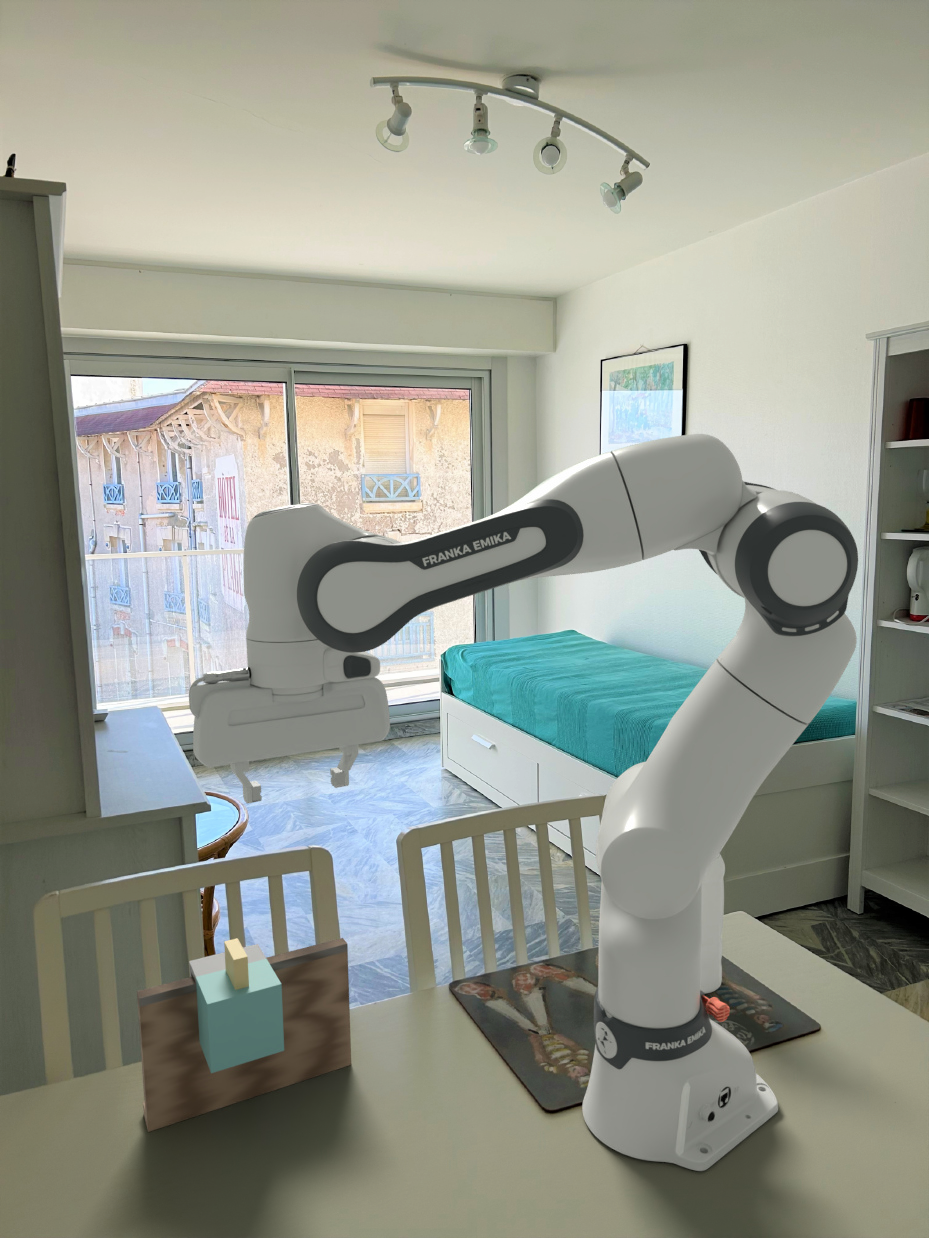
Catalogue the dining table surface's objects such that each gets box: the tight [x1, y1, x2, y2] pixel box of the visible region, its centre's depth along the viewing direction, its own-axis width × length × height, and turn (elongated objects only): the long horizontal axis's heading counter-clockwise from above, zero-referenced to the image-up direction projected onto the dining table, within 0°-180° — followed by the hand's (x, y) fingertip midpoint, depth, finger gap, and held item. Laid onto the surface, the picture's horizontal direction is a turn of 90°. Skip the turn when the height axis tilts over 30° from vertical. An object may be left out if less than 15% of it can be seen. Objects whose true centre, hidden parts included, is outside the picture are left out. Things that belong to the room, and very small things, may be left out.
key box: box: [188, 938, 284, 1073], centre depth 99 cm, size 8×10×12 cm
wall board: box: [136, 937, 352, 1133], centre depth 104 cm, size 24×3×16 cm, turn 118°
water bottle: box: [700, 852, 726, 995], centre depth 124 cm, size 7×7×25 cm
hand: (297, 793), depth 92 cm, fingers open, 8 cm apart
